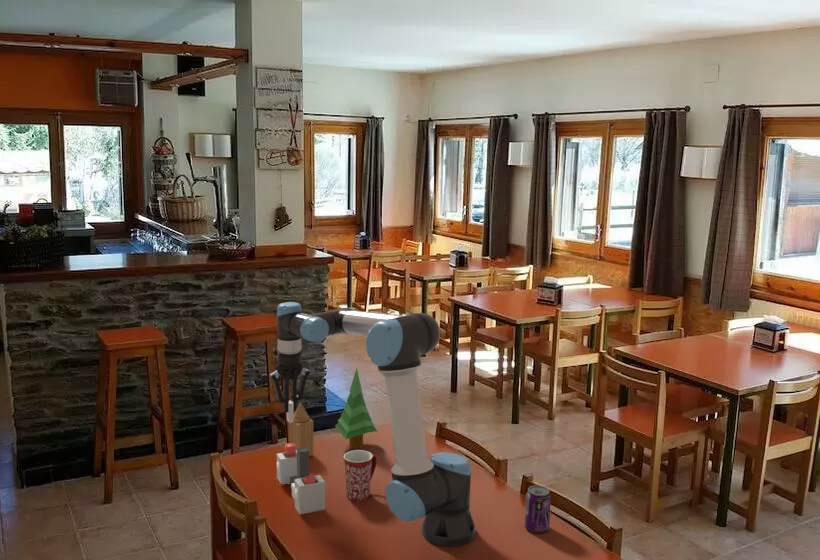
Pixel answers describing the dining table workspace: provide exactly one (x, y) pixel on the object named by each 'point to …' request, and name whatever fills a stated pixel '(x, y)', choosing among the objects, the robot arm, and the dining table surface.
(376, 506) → the dining table surface
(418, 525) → the dining table surface
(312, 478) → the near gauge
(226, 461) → the dining table surface
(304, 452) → the dark grey tall block
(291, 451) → the red push button
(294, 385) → the robot arm
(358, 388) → the decorative tree
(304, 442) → the decorative item
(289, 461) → the far cabinet
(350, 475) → the mug
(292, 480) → the rail
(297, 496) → the near cabinet
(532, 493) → the beverage can
